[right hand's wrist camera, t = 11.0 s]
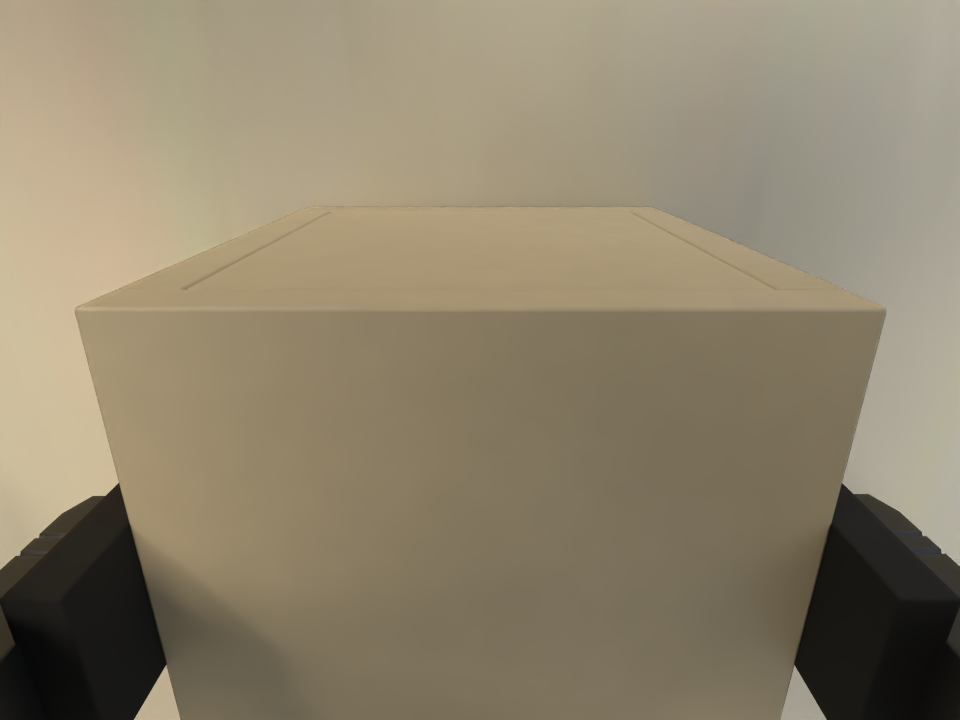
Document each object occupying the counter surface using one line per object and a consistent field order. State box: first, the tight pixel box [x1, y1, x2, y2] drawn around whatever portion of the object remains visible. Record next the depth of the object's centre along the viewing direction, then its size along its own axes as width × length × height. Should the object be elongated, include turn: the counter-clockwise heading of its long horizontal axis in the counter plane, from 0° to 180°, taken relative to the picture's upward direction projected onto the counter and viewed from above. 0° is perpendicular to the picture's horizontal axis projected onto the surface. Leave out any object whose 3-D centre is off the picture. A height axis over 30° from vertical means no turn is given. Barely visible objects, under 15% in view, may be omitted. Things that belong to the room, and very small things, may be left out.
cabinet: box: [75, 207, 886, 720], centre depth 15 cm, size 16×10×10 cm, turn 0°
